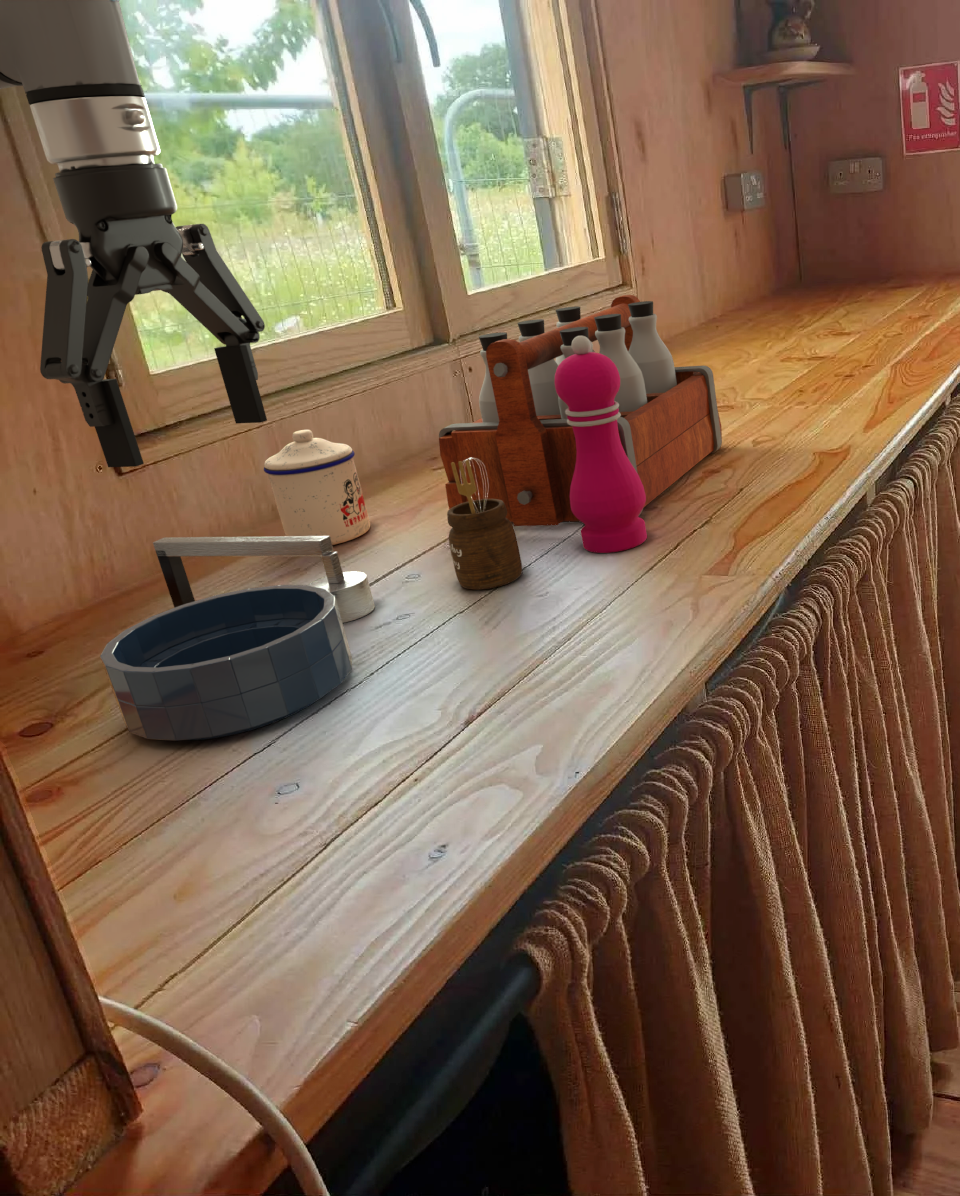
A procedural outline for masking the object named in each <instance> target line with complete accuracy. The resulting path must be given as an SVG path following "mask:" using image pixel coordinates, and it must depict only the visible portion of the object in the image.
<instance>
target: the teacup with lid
mask: <svg viewBox="0 0 960 1196" xmlns="http://www.w3.org/2000/svg"><path fill="white" fill-rule="evenodd" d="M291 436H292V439H293V441H292V442H289V443H288V444H286V445H285V446H283V448H281V450H280V451H278V452H277V453H275V454H274V455H272V456H270V457H268V458H267V459H266V460H265V461H264V464H263V472H264V473H266V475H267V477H268V481H269V484H270V488H271V491H272V495H273V498H274V502H275V506H276V508H277V512H278V515H279V519H280V523H281V526H282V529H283V533H284V536H330V539H331V543H332V546H336V545H338V544H343V543H346V542H349V541H351V540H354V539H357V538H358V537H360V536H363V535H364V534H366V533H367V532H368V531H369V530H370V528H371V521H370V517H369V514H368V510H367V506H366V501H365V499H364V494H363V489H362V486H361V483H360V479H359V475H358V471H357V467H356V464H355V460H354V457H355V451H354V450H353V448H352V447H351V446H350V445H348V444H346V443H342V442H341V443H340V442H333V441H329V440H327V439H326V438H322V437H314V433H313V431H312V430H311V429H300V430H296V431H294V432H292V435H291Z"/></svg>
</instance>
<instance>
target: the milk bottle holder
mask: <svg viewBox="0 0 960 1196" xmlns="http://www.w3.org/2000/svg"><path fill="white" fill-rule="evenodd" d="M555 313H556V317H557V320H558V321H556V327H555V328H554V329H551V330H548V331H546V332H545V319H543V318H542V319H541V318H539V319H530V320H523V321H519V322H517V323H516V324H517V327H518V330H519V332H520V335H519V336H518V341H517V340H516V339H511V338H508V333H507V332H503V331H502V332H492V333H486V334H482V335H479V336H478V339H479V342H480V345H481V348H482V349H481V350H480V351H479V355H480V356H481V358H482V360H483V363H484V366H485V374H484V378H483V382H482V385H481V389H480V391H479V397H478V406H479V411H480V416H481V418H479V419H477V420H475V421H473V422H465V423H464V422H463V423H452V424H451V423H450V424H449V425H447V426H445V427H443V428H441V429H440V431H439V433H438V443H439V455H440V459H441V462H442V465H443V468H444V472H445V475H446V478H447V481H448V482H446V483H445V484H444V485H445V491H446V498H447V499H446V500H447V505H448V510H449V509H451V508H452V507H454V506H456V505H459V504H462V503H465V502H468V498H467V497H466V496H464V495H461V494H459V492H458V488H457V485H456V481H455V477H454V473H453V470H452V466H451V463H452V462H454V463H455V466H456V470H457V473H458V477H459V481H460V484H464V483H463V479H462V475H461V477H460V473H461V471H460V468H459V464H458V462H459V461H461V462H463V461H464V460H466V459H468V458H471V459H472V458H477V460H476V459H475V460H474V459H472V460H471V459H468V460H469V462H470V466H471V470H472V473H473V477H474V481H475V485H476V489H477V490H476V492H475V493H476V495H475V493H474V494H472V495H471V496H472V497H471V498H472V499H473V500H479V498H480V499H483V498H484V499H499V500H502V501H503V502H504V504H505V506H506V509H507V516H506V517H505V518H507V519H508V520H510V522H511V523H512V525H513V527H538V526H539V527H542V526H543V527H544V526H550V527H551V526H558V525H560V524H562V523H563V524H565V523H567V524H569V523H570V524H571V523H582V522H581V521H580V520H579V519H578V518H577V517H576V516H575V515H574V514H573V512H572V510H571V505H570V486H571V482H572V478H573V474H574V470H575V465H576V455H577V450H576V439H575V435H574V431H573V427H572V426H571V425H569V424H568V423H567V420H568V418H567V416H568V415H566V413H565V411H566V409H567V408H569V407H568V405H567V404H566V403H565V402H564V401H563V400H562V399H561V398H560V397H559V396H558V394H557V392H556V389H555V373H556V369H557V367H558V366H559V364H560V363H561V362H562V361H563V360H564V359H566V358H567V357H569V356H571V355H574V354H576V353H574V351H573V350H572V346H571V345H572V341H573V339H574V338H575V337H577V336H585V337H587V338H588V339H589V340H590V343H591V349H590V351H589V352H595V353H596V351H595V350H594V348H593V347H594V344H593V342H596V341H597V342H598V345H599V352H598V353H600V354H603V355H605V356H607V357H608V358H610V359H611V360H612V361H613V363H614V364H615V365H616V367H617V369H618V372H619V375H620V388H619V391H618V392H617V394H616V396H615V398H614V401H616V402H618V403H619V407H618V409H619V412H620V414H621V416H620V418H618V419H617V425H618V433H619V437H620V441H621V444H622V447H623V449H624V452H625V454H626V455H627V457H628V459H629V461H630V462H631V464H632V466H633V467H634V469H635V470H636V472H637V473H638V475H639V477H640V480H641V482H642V484H643V487H644V491H645V495H646V502H645V505H644V507H643V509H642V510H641V512H640V514H639V515H638V517H640V516H641V514H642V513H643V510H644V508H645V507H647V506H648V505H649V504H650V503H651V502H652V501H653V500H655V499H656V498H657V497H659V496H660V495H661V494H662V493H663V492H664V491H666V490H667V489H668V488H670V487H671V486H672V485H673V484H674V483H675V482H677V481H678V480H679V479H680V478H682V477H683V476H684V475H685V474H687V472H689V471H690V470H691V469H692V468H693V467H695V466H696V465H697V464H698V463H699V462H700V461H702V460H703V459H704V458H706V457H707V456H708V455H712V454H715V453H716V452H717V451H718V450H720V448H721V447H722V445H723V436H722V433H723V431H722V422H721V418H720V414H719V410H718V403H717V402H718V401H717V395H716V394H717V393H716V386H715V377H714V372H713V370H712V368H710V367H709V366H708V365H705V364H703V365H686V366H675V362H674V357H673V355H672V353H671V351H670V350H669V348H668V347H667V345H666V343H664V341H663V340H662V339H661V337H660V335H659V333H658V329H657V320H658V316H657V314H656V313H654V301H652V300H646V301H645V300H644V301H641V300H640V299H639V297H637V296H635V295H633V294H623V295H620V296H617V297H615V298H614V299H612V301H611V304H610V307H608V308H606V309H603V310H601V311H599V312H596V313H593V314H591V315H588V316H585V317H583V318H581V306H568V307H567V306H566V307H560V308H557V309H555ZM478 459H479V460H478ZM472 461H473V463H472ZM476 461H477V462H478V463H477V462H476ZM465 462H466V461H464V462H463V463H464V465H463V468H464V472H466V478H467V482H468V483H471V481H470V477H469V473H468V469H467V466H466V464H465ZM463 463H462V464H463ZM480 463H481V464H480ZM478 464H479V465H478ZM483 464H484V465H483ZM473 465H474V467H473ZM481 465H482V466H481ZM479 466H480V467H479ZM484 466H485V467H484ZM482 467H483V469H482ZM474 469H475V472H474ZM480 469H481V471H480ZM485 469H486V470H485ZM483 471H484V473H483ZM481 473H482V475H481ZM486 473H487V475H486ZM475 474H476V477H475ZM484 475H485V478H484ZM487 477H488V480H487ZM482 478H483V480H482ZM476 479H477V482H476ZM461 480H462V483H461ZM485 481H486V485H485ZM483 483H484V488H483ZM488 484H489V490H488ZM477 485H478V488H477ZM478 491H479V494H478ZM485 493H486V498H485ZM487 494H488V497H487ZM476 497H477V499H476ZM473 500H472V501H473Z"/></svg>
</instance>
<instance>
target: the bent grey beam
mask: <svg viewBox="0 0 960 1196" xmlns="http://www.w3.org/2000/svg"><path fill="white" fill-rule="evenodd" d="M152 544H153V548H154V551H155V554H156V557H157V560H158V563H159V567H160V569H161V573H162V575H163V578H164V581H165V584H166V587H167V590H168V593H169V596H170V599H171V602H172V604H173V608H175V607H178V606H181V605H184V604H187V603H191V602H194V601H196V600H195V596H194V594H193V590H192V588H191V583H190V581H189V579H188V574H187V572H186V569H185V566H184V563H183V559H182V558H183V557H320V558H321V561H322V565H323V569H324V573H325V576H322V577H320V578H318V579H315V580H313V581H311V582H310V583H309V584H307V585H308V586H313V587H318V588H323V589H326V590H327V591H328V592H330V593H331V594H332V595H334V596H335V598H336V601H337V605H338V608H339V612H340V616H341V619H342V623H343V624H344V623H348V622H352V621H356V620H358V619H361V618H363V617H365V616H367V615H369V614H370V613H372V612H373V611H374V610H375V607H376V605H375V602H374V597H373V594H372V591H371V587H370V583H369V579H368V575H367V573H365V572H363V571H343V568H342V565H341V561H340V558H339V557H340V556H339V553H338V551H334V547H333V546H334V545H332V543H331V539H330V536H285V535H283V536H282V535H281V536H279V535H277V536H276V535H275V536H273V535H271V536H268V535H267V536H185V537H184V536H180V537H178V536H176V537H172V536H171V537H170V536H169V537H166V536H165V537H162V538H159V539H157V540H155V541H153V542H152Z"/></svg>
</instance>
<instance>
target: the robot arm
mask: <svg viewBox="0 0 960 1196" xmlns="http://www.w3.org/2000/svg"><path fill="white" fill-rule="evenodd" d="M123 15H124V14H123V11H122V7H121V3H120V0H0V90H2V89H7V88H13V87H23V90H24V93H25V96H26V99H27V103H28V105H29V108H30V112H31V115H32V118H33V121H34V125H35V127H36V130H37V134H38V137H39V140H40V143H41V146H42V150H43V152H44V156H45V158H46V159H45V160H46V162H48V163H49V164H50V165H57V167H58V172H55V173H54V176H55V177H53V178H52V179H53V184H54V186H55V189H56V192H57V195H58V198H59V201H60V204H61V207H62V211H63V214H64V216H65V219H66V221H67V222H69V223H70V224H71V225H74V226H75V228H76V229H77V233H78V240H77V239H75V238H68V239H67V238H66V239H59V240H58V239H57V240H49V241H43V243H42V244H41V253H42V257H43V263H44V266H45V270H46V274H47V276H46V286H45V287H46V288H45V290H46V291H45V299H44V301H45V302H44V314H43V326H42V339H41V340H42V341H41V352H40V353H41V354H40V365H39V371H40V374H41V376H42V378H44V379H46V380H56V381H59V382H60V383H61V384H71V385H72V387H73V389H74V391H75V394H76V397H77V400H78V403H79V406H80V409H81V411H82V415H83V418H84V421H85V423H86V424H87V425H88V426H89V427H90V428H93V427H94V430H95V432H96V434H97V439H98V441H99V444H100V447H101V450H102V453H103V456H104V458H105V462H106V465H107V467H108V468H130V467H131V468H135V467H139V466H143V465H144V460H143V457H142V454H141V451H140V448H139V444H138V441H137V438H136V435H135V432H134V428H133V426H132V423H131V419H130V416H129V414H128V410H127V408H126V404H125V400H124V398H123V396H122V395H123V394H122V392H121V388H120V385H119V383H118V380H117V378H105V377H106V373H107V370H108V367H109V363H110V360H111V357H112V354H113V350H114V347H115V344H116V341H117V337H118V334H119V331H120V328H121V325H122V322H123V318H124V315H125V312H126V308H127V306H128V304H130V303H131V302H132V301H133V300H134V298H135V297H136V296H138V295H145V294H150V293H151V292H157V291H162V292H163V293H167V294H169V295H170V296H171V297H172V298H174V299H175V300H176V301H177V302H178V303H179V304H180V306H182V308H184V309H185V310H186V311H187V312H188V313H189V314H190V315H191V316H192V317H193V318H195V320H197V321H198V322H199V323H200V324H201V325H202V326H203V327H204V328H205V329H206V330H207V331H208V332H209V333H210V334H212V335H213V336H214V337H215V339H217V341H219V342H220V343H221V344H222V346H217V347H214V350H213V351H214V353H215V356H216V360H217V363H218V367H219V370H220V375H221V377H222V381H223V384H224V387H225V390H226V391H225V392H226V394H227V397H228V398H227V399H228V402H229V405H230V408H231V409H230V410H231V412H232V416H233V419H234V422H235V424H259V423H264V422H267V421H268V418H267V415H266V411H265V407H264V404H263V400H262V396H261V393H260V389H259V386H258V382H257V381H258V380H259V372H258V369H257V364H256V362H255V358H254V355H253V350H252V346H251V344H255V343H256V344H257V343H259V340H260V336H261V335H260V333H262V332H263V331H264V330H265V327H266V325H265V321H264V319H263V318H262V317H261V315H260V314H259V312H258V311H257V309H256V307H255V306H254V305H253V303H252V301H251V300H250V298H249V297H248V295H247V293H245V290H244V289H243V288H242V287H241V285H240V284H239V282H238V280H237V278H235V275H234V274H233V273H232V271H231V270H230V268H229V266H228V265H227V264H226V262H225V261H224V260H223V258H222V256H221V255H220V253H219V252H218V250H217V248H216V244H215V242H214V240H213V237H212V234H211V231H210V229H209V227H208V226H207V225H206V224H205V223H195V224H185V225H175V224H174V222H173V219H172V217H173V215H174V214H175V213H176V212H177V211H178V204H177V200H176V197H175V194H174V191H173V187H172V183H171V180H170V177H169V173H168V169H167V167H163V164H162V163H155V159H154V157H157V156H159V154H161V148H160V145H159V144H160V143H159V140H158V138H157V133H156V131H155V126H154V124H153V119H152V116H151V113H150V110H149V106H148V104H147V103H148V102H147V100H146V98H145V97H146V95H145V92H144V89H143V87H142V84H141V82H140V81H141V80H140V79H139V75H138V71H137V67H136V63H135V60H134V59H135V58H134V55H133V52H132V47H131V44H130V40H129V39H130V38H129V36H128V32H127V31H128V30H127V27H126V22H125V20H124V19H125V18H124V16H123ZM89 267H90V269H92V270H91V273H90V276H89V274H88V268H89ZM223 345H224V346H223Z"/></svg>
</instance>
